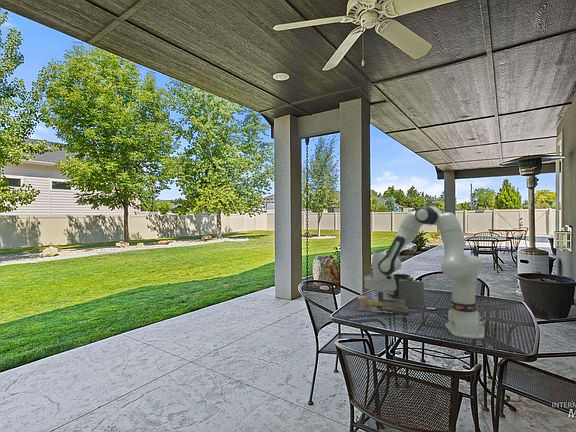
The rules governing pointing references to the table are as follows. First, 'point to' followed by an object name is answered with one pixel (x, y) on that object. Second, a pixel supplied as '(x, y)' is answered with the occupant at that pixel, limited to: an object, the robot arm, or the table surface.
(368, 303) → the slip tube
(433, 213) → the robot arm
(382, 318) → the table surface
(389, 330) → the table surface
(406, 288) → the hip flask
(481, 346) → the table surface
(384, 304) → the sleeve stand
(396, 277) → the plant pot
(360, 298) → the socket block
